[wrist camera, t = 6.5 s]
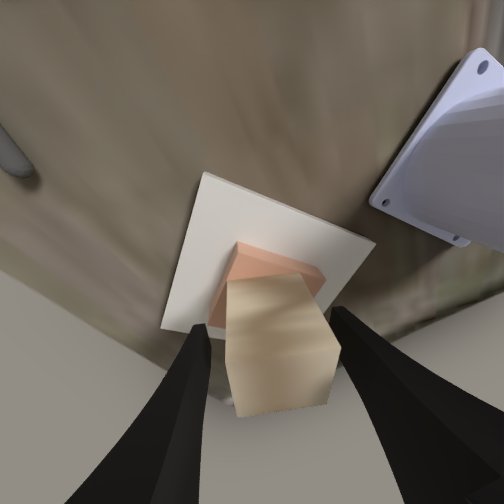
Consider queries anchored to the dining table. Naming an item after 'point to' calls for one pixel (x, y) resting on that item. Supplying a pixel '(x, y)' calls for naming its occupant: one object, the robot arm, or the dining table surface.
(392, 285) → the dining table surface
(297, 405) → the birch block
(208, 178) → the base plate
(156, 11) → the dining table surface
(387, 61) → the dining table surface
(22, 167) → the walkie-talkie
